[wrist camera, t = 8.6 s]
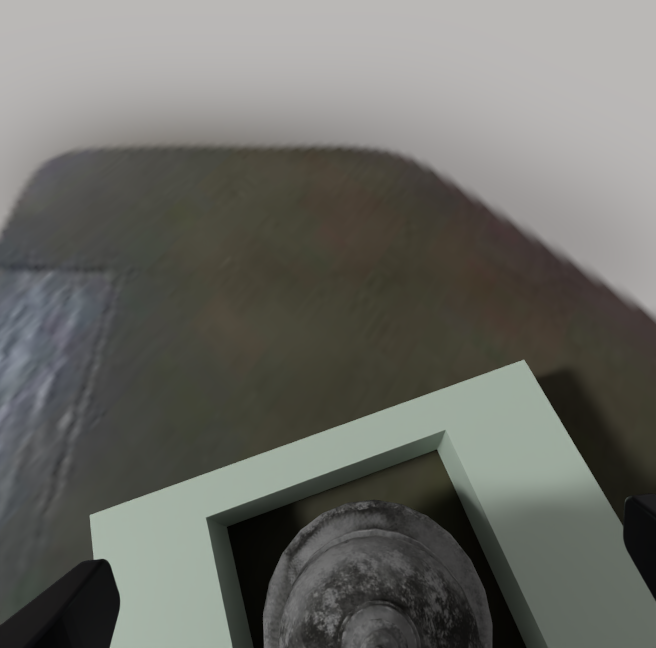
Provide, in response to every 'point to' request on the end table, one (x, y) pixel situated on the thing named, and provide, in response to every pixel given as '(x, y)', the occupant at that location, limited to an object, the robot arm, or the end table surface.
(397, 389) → the end table surface
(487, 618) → the grey stone chess bishop
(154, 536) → the socket board
